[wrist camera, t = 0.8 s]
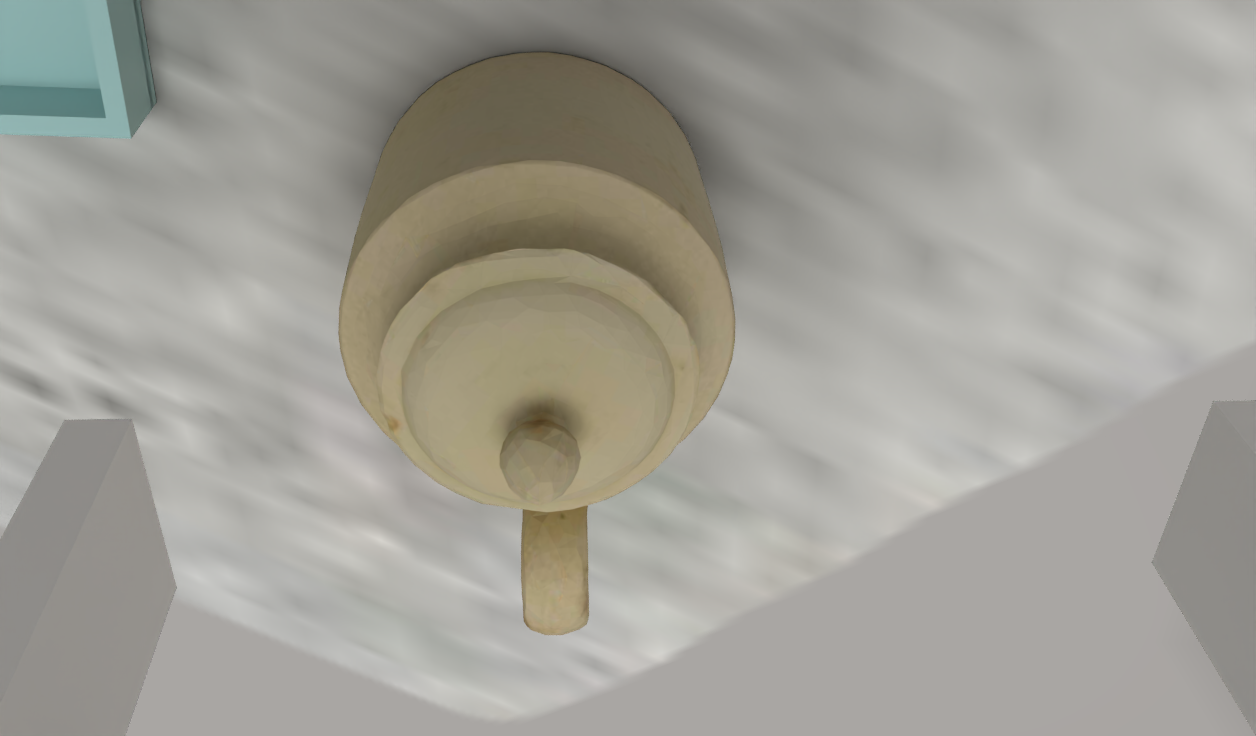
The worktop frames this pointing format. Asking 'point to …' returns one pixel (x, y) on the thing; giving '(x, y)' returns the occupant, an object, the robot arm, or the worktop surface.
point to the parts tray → (74, 68)
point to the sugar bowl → (538, 300)
